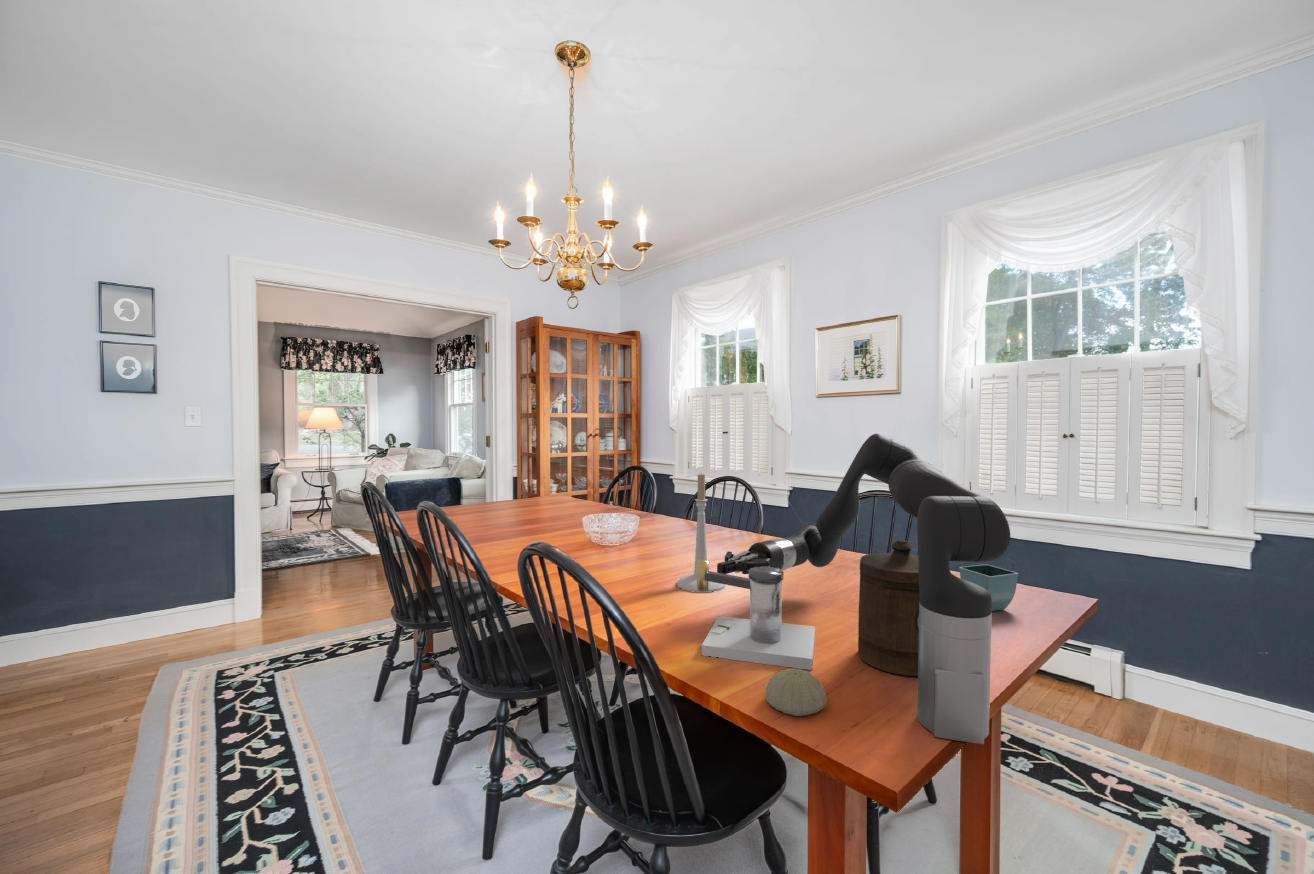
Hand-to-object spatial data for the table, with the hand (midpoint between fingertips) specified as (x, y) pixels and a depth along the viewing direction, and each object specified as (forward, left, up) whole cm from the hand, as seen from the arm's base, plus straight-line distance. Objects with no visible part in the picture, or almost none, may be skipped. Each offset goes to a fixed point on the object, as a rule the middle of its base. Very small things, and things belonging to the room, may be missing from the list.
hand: (719, 569), depth 120 cm
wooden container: (-7, -35, -12) cm, 38 cm away
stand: (-8, -10, -12) cm, 18 cm away
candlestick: (+27, +10, -12) cm, 31 cm away
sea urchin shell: (-29, -18, -12) cm, 36 cm away
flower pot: (+30, -58, -12) cm, 66 cm away
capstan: (-7, -5, -10) cm, 13 cm away
